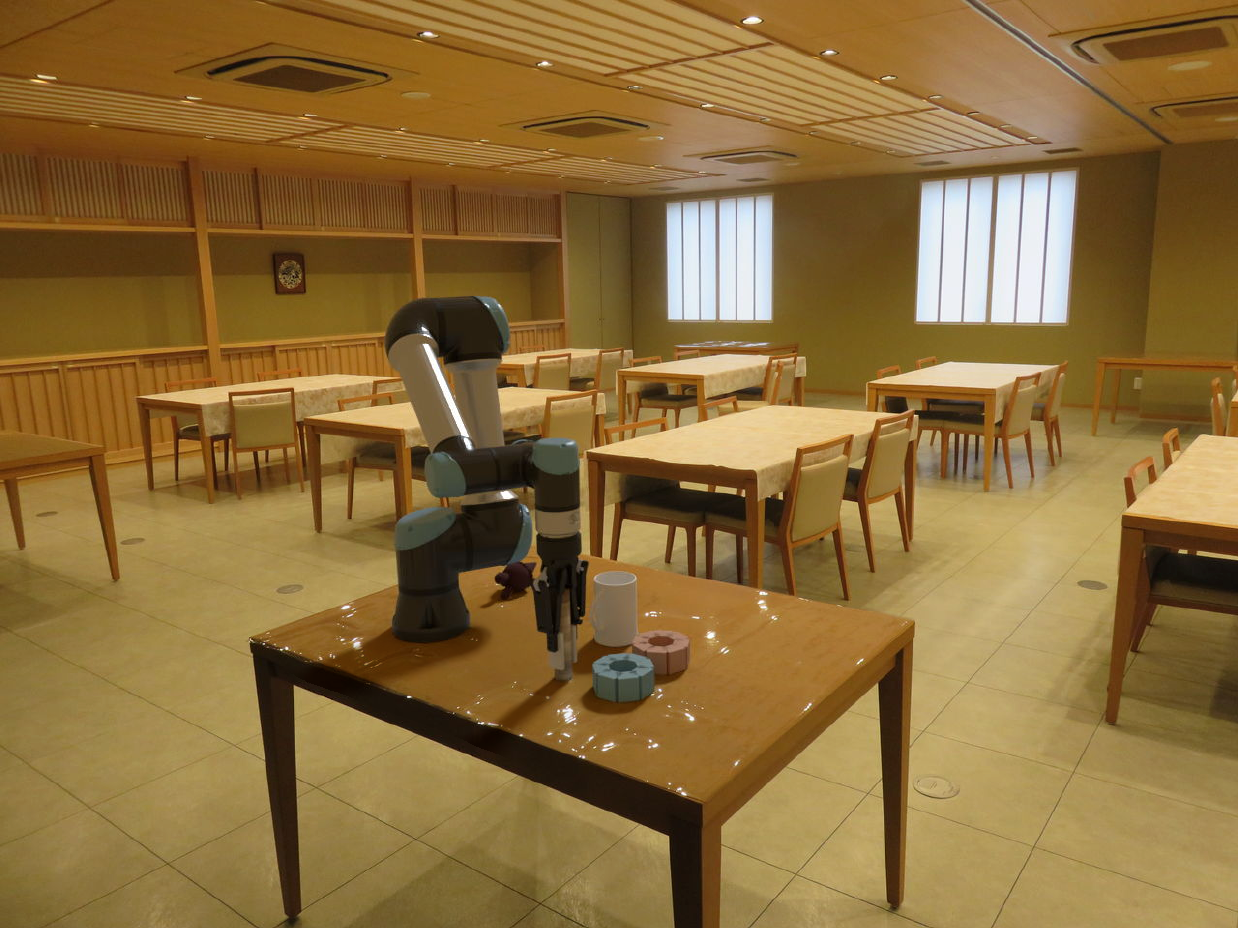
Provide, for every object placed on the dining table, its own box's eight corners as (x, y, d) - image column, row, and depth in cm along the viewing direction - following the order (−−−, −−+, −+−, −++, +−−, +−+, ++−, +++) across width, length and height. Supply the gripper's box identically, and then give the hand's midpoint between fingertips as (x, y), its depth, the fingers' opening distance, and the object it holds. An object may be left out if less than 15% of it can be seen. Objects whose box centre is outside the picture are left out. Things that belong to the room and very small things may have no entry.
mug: (605, 656, 163) (604, 593, 161) (572, 644, 169) (570, 583, 166) (648, 636, 172) (647, 576, 169) (615, 625, 177) (613, 567, 175)
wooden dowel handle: (551, 678, 155) (547, 589, 151) (562, 671, 157) (559, 584, 154) (565, 682, 153) (561, 593, 150) (576, 675, 155) (573, 587, 152)
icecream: (518, 550, 206) (480, 575, 193) (544, 546, 202) (507, 572, 190) (527, 578, 207) (490, 605, 194) (553, 575, 203) (517, 602, 191)
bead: (582, 692, 149) (581, 669, 149) (615, 670, 157) (615, 649, 156) (631, 707, 144) (631, 683, 143) (663, 683, 152) (663, 661, 151)
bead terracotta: (628, 672, 157) (628, 650, 156) (639, 649, 166) (638, 628, 165) (684, 676, 155) (684, 654, 154) (692, 652, 164) (692, 632, 163)
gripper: (546, 547, 141) (551, 686, 146) (604, 523, 154) (608, 652, 159) (509, 540, 145) (516, 676, 150) (569, 517, 158) (574, 643, 163)
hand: (563, 663), depth 155 cm, fingers closed on wooden dowel handle, 3 cm apart
